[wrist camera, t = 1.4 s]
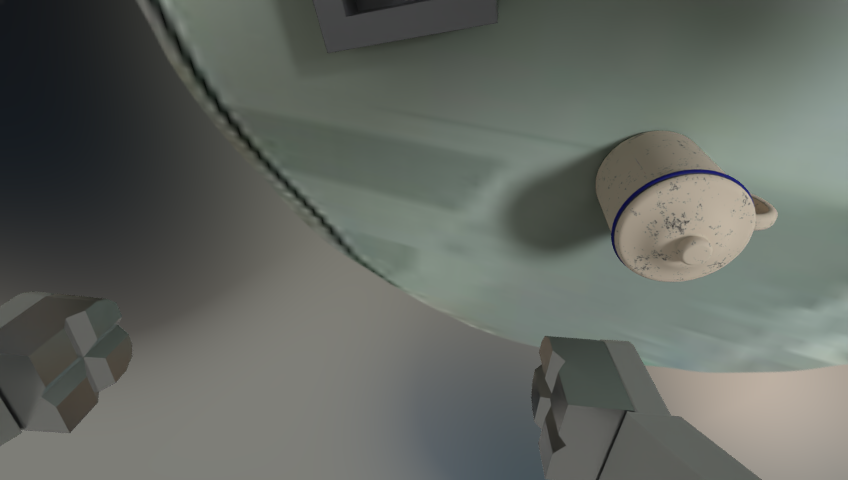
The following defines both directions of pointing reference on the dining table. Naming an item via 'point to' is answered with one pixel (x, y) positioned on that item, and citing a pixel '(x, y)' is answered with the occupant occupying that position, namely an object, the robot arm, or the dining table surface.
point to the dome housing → (396, 19)
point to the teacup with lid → (675, 208)
